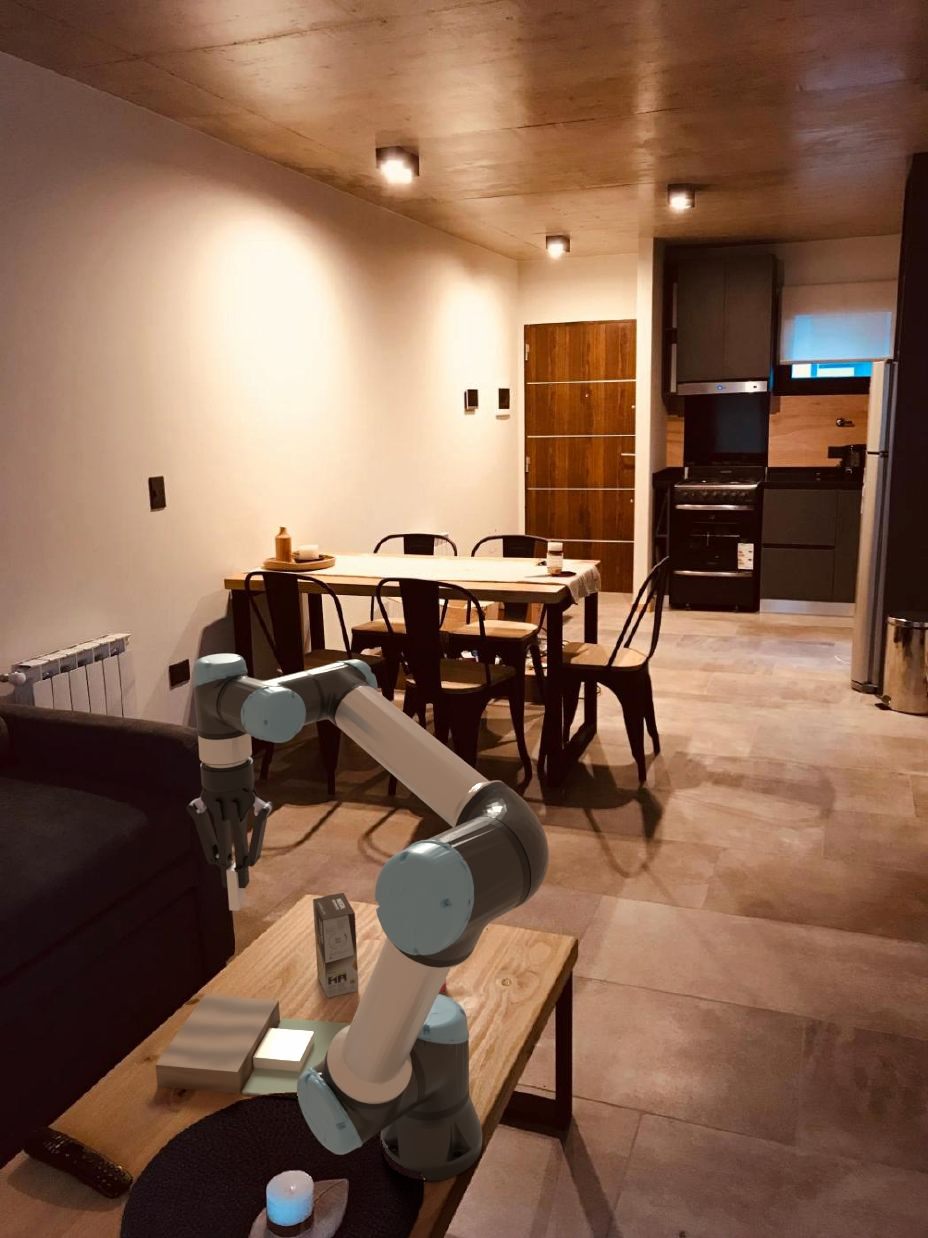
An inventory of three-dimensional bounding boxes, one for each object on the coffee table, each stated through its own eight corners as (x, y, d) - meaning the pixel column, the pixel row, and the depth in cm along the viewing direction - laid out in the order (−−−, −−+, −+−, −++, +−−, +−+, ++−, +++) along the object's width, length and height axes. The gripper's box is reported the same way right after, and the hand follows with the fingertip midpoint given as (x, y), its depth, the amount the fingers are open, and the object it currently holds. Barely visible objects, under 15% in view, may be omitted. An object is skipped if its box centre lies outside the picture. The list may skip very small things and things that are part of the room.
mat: (331, 1102, 162) (331, 1100, 162) (242, 1094, 165) (241, 1092, 165) (363, 1026, 182) (363, 1024, 181) (282, 1020, 184) (282, 1018, 184)
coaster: (299, 1071, 169) (299, 1061, 169) (253, 1067, 170) (252, 1057, 170) (314, 1042, 177) (313, 1031, 176) (269, 1038, 178) (269, 1028, 178)
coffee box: (360, 991, 192) (356, 913, 189) (326, 999, 190) (322, 920, 187) (347, 966, 201) (343, 891, 197) (315, 973, 199) (311, 898, 195)
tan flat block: (239, 1094, 165) (237, 1072, 164) (157, 1086, 167) (155, 1065, 166) (280, 1020, 184) (278, 1000, 183) (206, 1014, 186) (204, 994, 185)
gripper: (277, 751, 152) (286, 896, 157) (194, 749, 154) (206, 892, 159) (259, 770, 145) (270, 921, 150) (173, 766, 147) (186, 916, 152)
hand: (237, 906), depth 155 cm, fingers closed
